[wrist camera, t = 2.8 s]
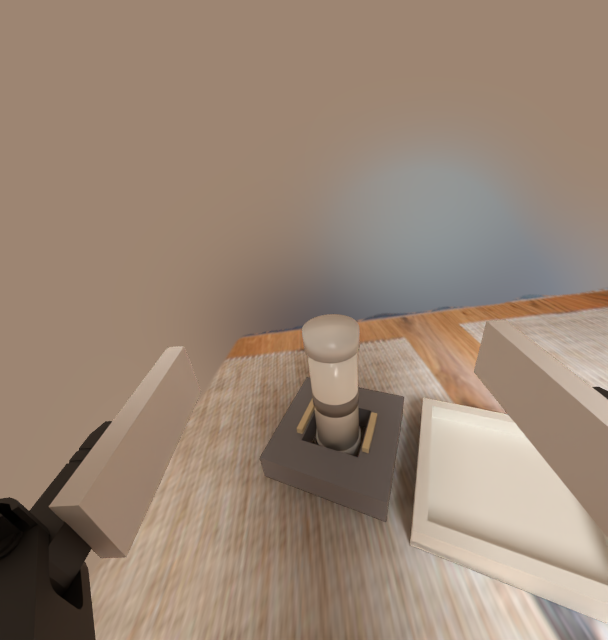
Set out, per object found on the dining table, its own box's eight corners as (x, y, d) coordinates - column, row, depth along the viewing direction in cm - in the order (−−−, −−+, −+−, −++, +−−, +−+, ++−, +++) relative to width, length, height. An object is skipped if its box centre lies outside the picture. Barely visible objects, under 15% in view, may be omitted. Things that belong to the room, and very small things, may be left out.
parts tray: (421, 412, 33) (423, 397, 32) (573, 446, 28) (583, 429, 26) (409, 545, 22) (412, 529, 21) (658, 644, 17) (681, 631, 15)
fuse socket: (309, 393, 38) (306, 373, 36) (402, 415, 33) (404, 392, 31) (265, 475, 28) (258, 453, 27) (386, 521, 24) (387, 498, 22)
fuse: (325, 421, 34) (314, 312, 26) (365, 431, 32) (365, 317, 24) (310, 455, 30) (292, 340, 22) (354, 470, 28) (350, 348, 21)
